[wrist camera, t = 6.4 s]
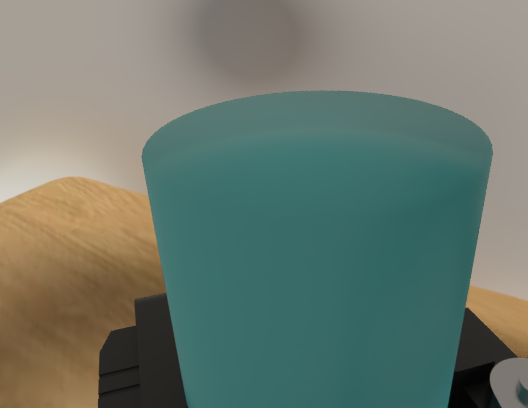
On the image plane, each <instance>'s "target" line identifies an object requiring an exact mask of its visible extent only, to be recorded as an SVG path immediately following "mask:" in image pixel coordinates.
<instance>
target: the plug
mask: <svg viewBox="0 0 528 408" xmlns="http://www.w3.org/2000/svg"><path fill="white" fill-rule="evenodd" d="M492 155H493V151H492V144H491V142H490V140H489V138H488V136H487V135H486V134H485V132H484V131H483V130H482V129H481V128H480V127H478V126H477V125H476V124H475V123H473V122H472V121H470V120H468V119H467V118H465V117H463V116H461V115H459V114H457V113H454V112H452V111H450V110H448V109H445V108H442V107H439V106H436V105H432V104H429V103H426V102H422V101H417V100H413V99H408V98H403V97H398V96H392V95H384V94H375V93H366V92H353V91H298V92H284V93H273V94H266V95H259V96H252V97H246V98H241V99H235V100H231V101H226V102H222V103H218V104H215V105H211V106H208V107H205V108H202V109H199V110H196V111H194V112H191V113H188V114H186V115H183V116H181V117H179V118H177V119H175V120H173V121H171V122H169V123H168V124H166V125H165V126H163V127H161V128H160V129H159V130H158V131H157V132H155V133H154V134H153V135H152V136H151V137H150V139H149V140H148V141H147V142H146V144H145V147H144V148H143V152H142V162H143V167H144V173H145V179H146V184H147V189H148V195H149V200H150V206H151V211H152V217H153V222H154V228H155V233H156V239H157V244H158V250H159V255H160V261H161V266H162V271H163V277H164V282H165V288H166V293H167V299H168V304H169V310H170V315H171V321H172V326H173V332H174V337H175V343H176V348H177V354H178V359H179V364H180V370H181V375H182V381H183V386H184V392H185V397H186V402H187V405H188V408H447V407H448V402H449V396H450V390H451V385H452V379H453V374H454V368H455V362H456V357H457V351H458V346H459V340H460V334H461V329H462V323H463V318H464V312H465V306H466V301H467V295H468V290H469V284H470V278H471V272H472V267H473V262H474V256H475V250H476V245H477V239H478V234H479V228H480V222H481V217H482V211H483V206H484V200H485V194H486V189H487V183H488V177H489V172H490V166H491V161H492Z"/></svg>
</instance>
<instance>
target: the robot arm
mask: <svg viewBox="0 0 528 408" xmlns="http://www.w3.org/2000/svg"><path fill="white" fill-rule="evenodd" d="M135 316H136V326H132V327H127V328H123V329H118V330H114V331H111V333H110V334H109V336H108V338H107V340H106V342H105V344H104V345H103V347H102V349H101V351H100V356H99V378H100V379H99V391H98V394H99V399H98V408H188V405H187V402H186V397H185V392H184V386H183V381H182V375H181V370H180V364H179V359H178V354H177V348H176V343H175V337H174V332H173V326H172V321H171V315H170V310H169V304H168V299H167V293H163V294H158V295H153V296H149V297H144V298H139V299H135ZM447 408H528V358H518V357H517V356H516V355H515V354H514V353H513V352H512V351H511V350H510V349H509V348H508V347H507V346H506V345H505V344H504V343H503V342H502V341H501V340H500V339H499V338H498V337H497V336H496V335H495V334H494V333H493V332H492V331H491V330H490V329H489V328H488V327H487V326H486V325H485V324H484V323H483V322H482V321H481V320H480V319H479V318H478V317H477V316H476V315H475V314H474V313H473V312H472V311H471V310H470V309H469V308H465V312H464V318H463V323H462V329H461V334H460V340H459V346H458V351H457V357H456V362H455V368H454V374H453V379H452V385H451V390H450V396H449V402H448V407H447Z"/></svg>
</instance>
